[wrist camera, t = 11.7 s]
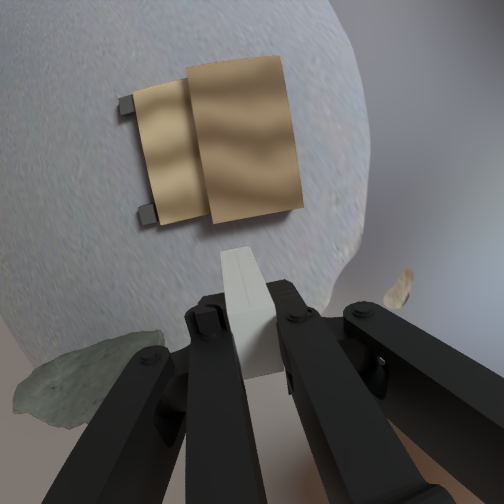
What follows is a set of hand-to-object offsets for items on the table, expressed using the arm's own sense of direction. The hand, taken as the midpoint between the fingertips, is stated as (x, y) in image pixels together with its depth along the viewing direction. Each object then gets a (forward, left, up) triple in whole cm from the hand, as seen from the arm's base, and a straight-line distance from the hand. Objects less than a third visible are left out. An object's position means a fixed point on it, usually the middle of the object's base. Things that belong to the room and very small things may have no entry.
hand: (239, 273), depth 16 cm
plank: (-8, -3, -28) cm, 29 cm away
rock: (+18, -24, -27) cm, 40 cm away
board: (-8, +4, -26) cm, 28 cm away
